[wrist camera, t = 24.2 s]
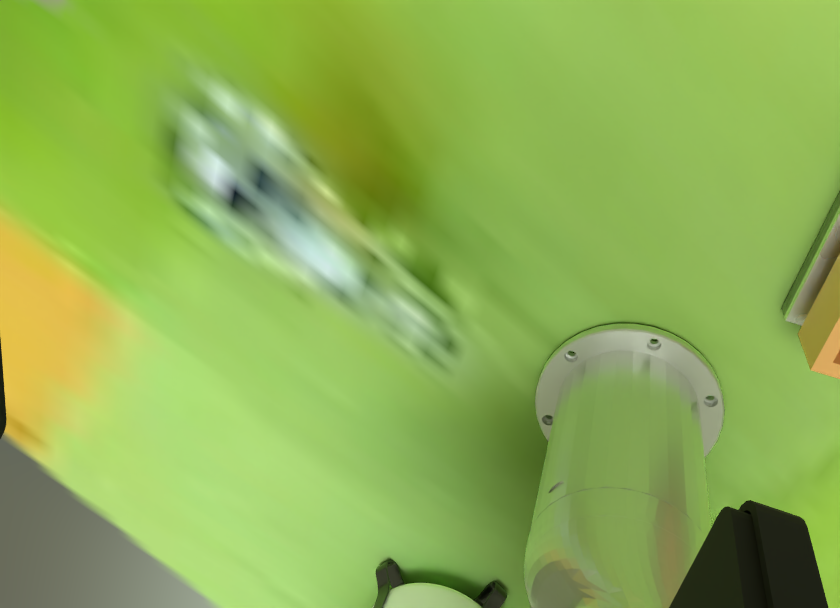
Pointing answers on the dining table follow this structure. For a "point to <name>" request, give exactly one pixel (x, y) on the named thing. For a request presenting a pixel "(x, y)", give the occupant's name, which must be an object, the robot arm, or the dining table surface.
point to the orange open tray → (824, 327)
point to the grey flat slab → (814, 268)
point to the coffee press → (429, 593)
